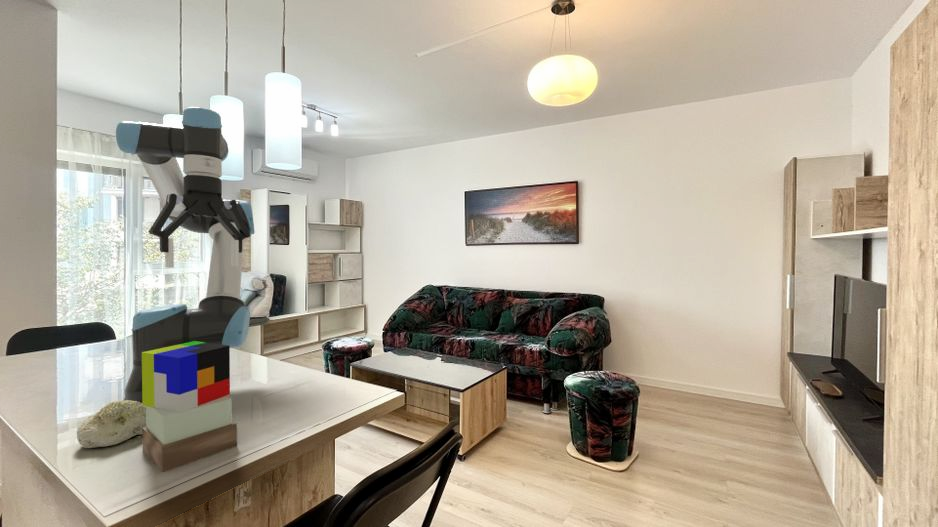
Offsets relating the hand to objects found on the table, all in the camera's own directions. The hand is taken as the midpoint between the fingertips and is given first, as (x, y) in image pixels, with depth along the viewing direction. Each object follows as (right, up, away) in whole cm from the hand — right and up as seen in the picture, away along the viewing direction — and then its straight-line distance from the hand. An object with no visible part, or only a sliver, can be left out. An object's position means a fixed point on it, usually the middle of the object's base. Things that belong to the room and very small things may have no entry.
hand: (204, 266), depth 94 cm
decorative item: (-9, -35, -12) cm, 39 cm away
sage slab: (+8, -31, -17) cm, 36 cm away
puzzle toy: (+8, -26, -16) cm, 32 cm away
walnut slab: (+8, -36, -17) cm, 40 cm away
